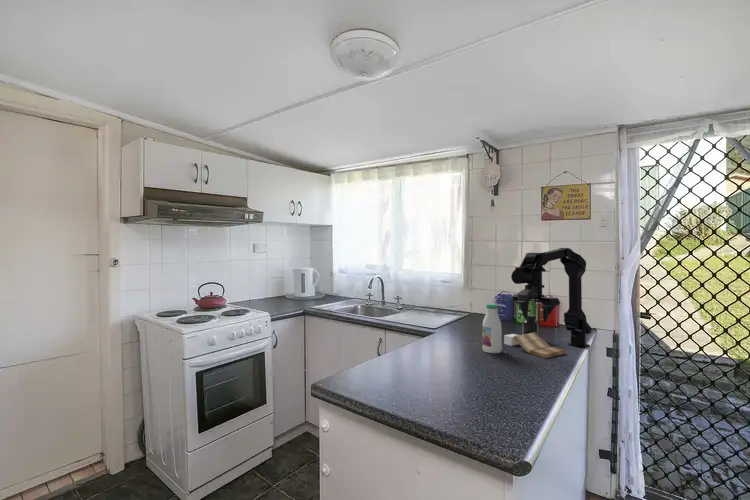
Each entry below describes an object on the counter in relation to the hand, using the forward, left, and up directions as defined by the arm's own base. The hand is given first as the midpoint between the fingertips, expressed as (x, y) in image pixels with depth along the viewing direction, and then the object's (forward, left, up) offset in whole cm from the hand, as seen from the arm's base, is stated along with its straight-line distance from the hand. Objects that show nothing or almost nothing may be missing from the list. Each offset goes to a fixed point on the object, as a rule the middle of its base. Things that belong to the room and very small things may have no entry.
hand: (535, 319), depth 147 cm
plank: (-4, -5, -12) cm, 13 cm away
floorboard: (-4, +3, -14) cm, 15 cm away
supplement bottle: (-15, -15, -14) cm, 25 cm away
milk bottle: (+14, -11, -14) cm, 22 cm away
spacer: (-3, -15, -14) cm, 20 cm away
